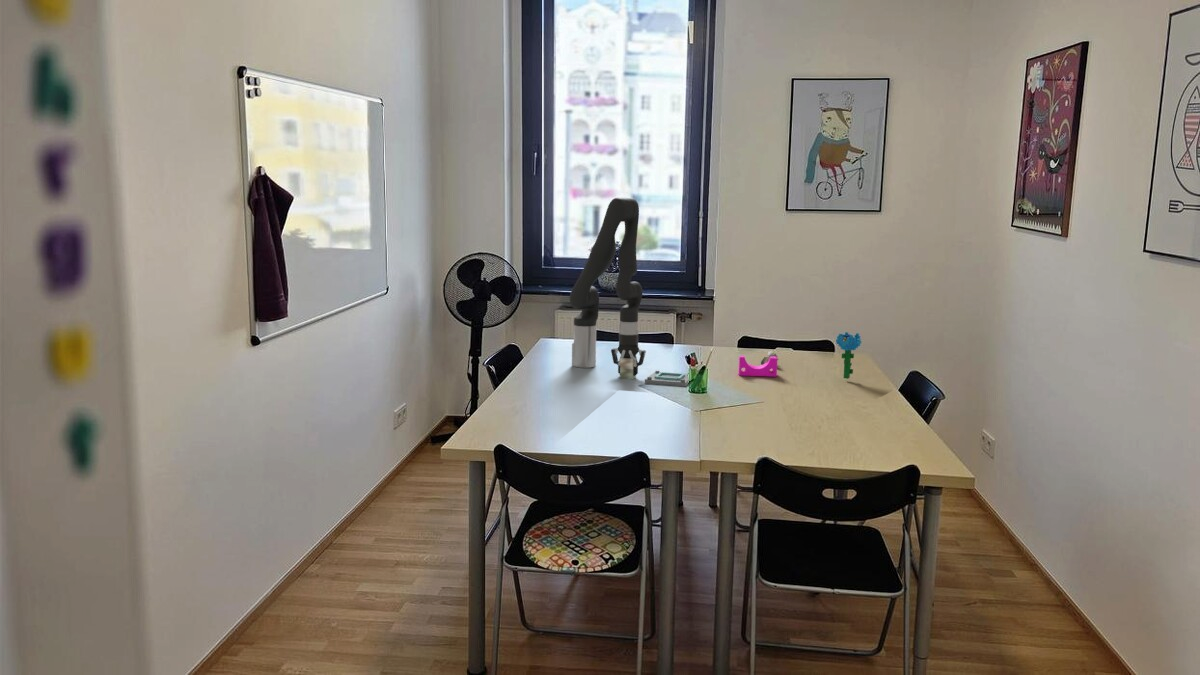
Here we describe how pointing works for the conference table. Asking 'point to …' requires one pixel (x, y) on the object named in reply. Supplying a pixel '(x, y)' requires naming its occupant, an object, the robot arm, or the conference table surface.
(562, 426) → the conference table surface
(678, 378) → the baseplate
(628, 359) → the beige block
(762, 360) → the eagle figurine
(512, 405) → the conference table surface
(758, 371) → the toy block
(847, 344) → the toy flower
